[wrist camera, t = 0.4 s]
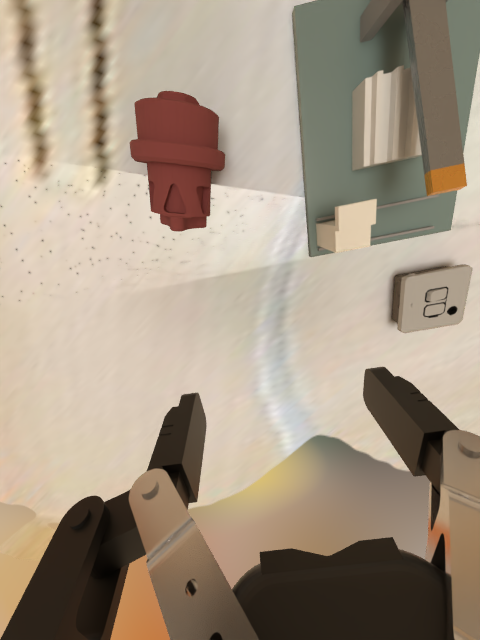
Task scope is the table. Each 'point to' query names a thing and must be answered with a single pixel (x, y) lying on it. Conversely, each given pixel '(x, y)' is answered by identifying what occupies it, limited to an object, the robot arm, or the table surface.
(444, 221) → the board
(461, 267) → the electrical switch
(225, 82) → the table surface
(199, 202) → the mechanical component
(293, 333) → the table surface
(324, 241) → the cream block
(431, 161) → the lever
